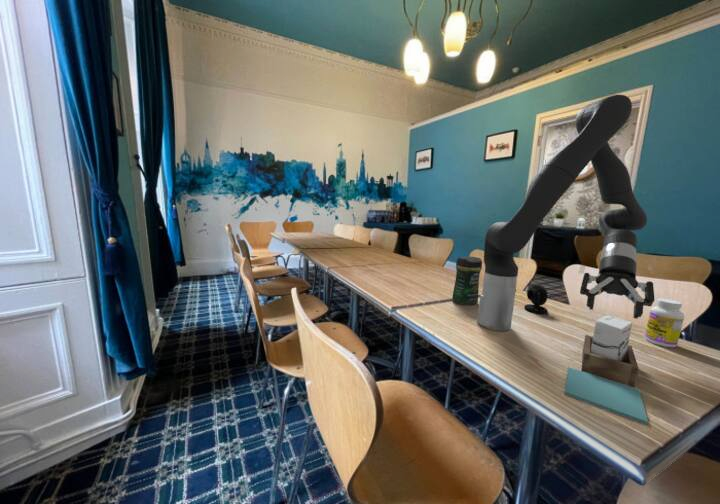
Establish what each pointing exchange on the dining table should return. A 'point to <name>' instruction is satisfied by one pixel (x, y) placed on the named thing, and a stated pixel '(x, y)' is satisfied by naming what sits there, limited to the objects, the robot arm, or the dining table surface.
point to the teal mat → (606, 394)
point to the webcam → (537, 299)
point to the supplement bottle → (665, 323)
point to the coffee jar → (467, 280)
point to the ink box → (611, 338)
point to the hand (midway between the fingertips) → (613, 312)
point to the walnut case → (610, 365)
